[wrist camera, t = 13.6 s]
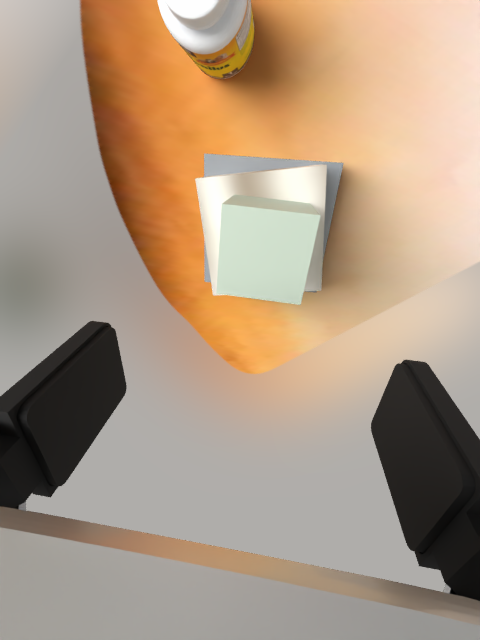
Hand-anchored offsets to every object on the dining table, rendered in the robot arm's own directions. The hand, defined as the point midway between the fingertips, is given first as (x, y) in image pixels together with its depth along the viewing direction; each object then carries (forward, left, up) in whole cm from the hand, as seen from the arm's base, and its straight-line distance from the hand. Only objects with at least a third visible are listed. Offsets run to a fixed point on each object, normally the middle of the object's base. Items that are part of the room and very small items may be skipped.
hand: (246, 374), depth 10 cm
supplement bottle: (+5, -15, -24) cm, 29 cm away
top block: (0, -1, -21) cm, 21 cm away
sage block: (0, -1, -17) cm, 17 cm away
